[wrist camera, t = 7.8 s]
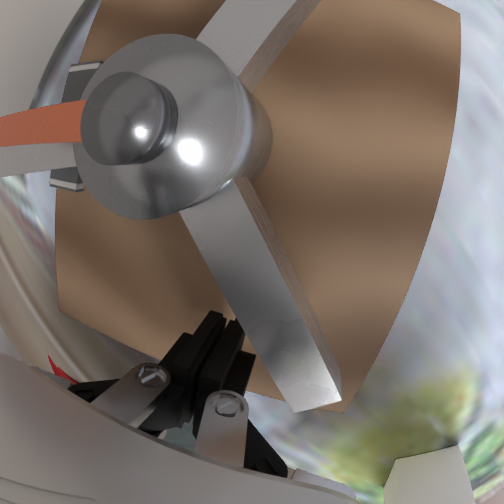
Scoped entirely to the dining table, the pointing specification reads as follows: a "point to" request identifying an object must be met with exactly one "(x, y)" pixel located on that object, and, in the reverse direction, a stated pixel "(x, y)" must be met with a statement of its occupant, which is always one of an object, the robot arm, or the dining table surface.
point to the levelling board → (289, 182)
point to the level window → (72, 92)
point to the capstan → (195, 169)
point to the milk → (429, 479)
